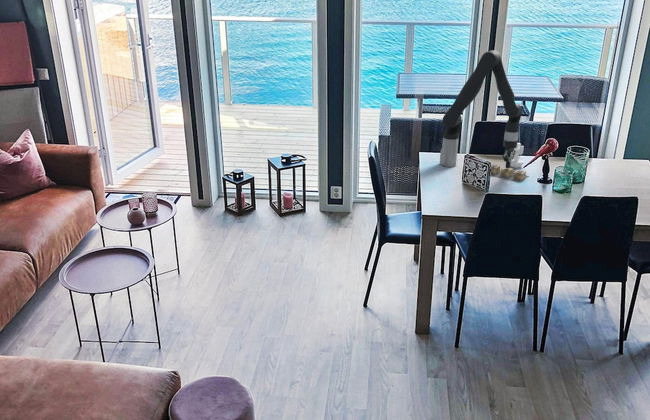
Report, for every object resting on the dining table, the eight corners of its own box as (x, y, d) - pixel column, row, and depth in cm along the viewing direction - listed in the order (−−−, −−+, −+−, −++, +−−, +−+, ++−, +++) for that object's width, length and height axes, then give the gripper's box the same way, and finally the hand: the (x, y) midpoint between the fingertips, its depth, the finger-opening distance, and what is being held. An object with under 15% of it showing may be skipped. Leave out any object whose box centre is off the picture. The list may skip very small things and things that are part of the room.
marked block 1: (487, 172, 363) (488, 165, 361) (491, 170, 367) (492, 163, 365) (495, 174, 360) (496, 167, 358) (499, 172, 364) (500, 165, 362)
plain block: (500, 175, 358) (501, 168, 357) (504, 173, 362) (504, 166, 360) (508, 177, 355) (509, 170, 354) (512, 175, 359) (513, 168, 357)
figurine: (515, 163, 379) (518, 140, 373) (524, 168, 371) (528, 144, 365) (505, 165, 377) (508, 141, 371) (514, 169, 369) (517, 145, 363)
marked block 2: (513, 178, 354) (514, 171, 352) (517, 176, 357) (517, 169, 355) (521, 180, 351) (522, 173, 349) (525, 178, 354) (526, 170, 352)
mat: (483, 174, 360) (483, 174, 360) (494, 168, 370) (494, 168, 370) (519, 183, 347) (519, 182, 347) (529, 176, 357) (529, 176, 357)
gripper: (509, 135, 357) (506, 163, 364) (499, 140, 348) (496, 169, 354) (522, 137, 352) (518, 166, 359) (512, 142, 343) (508, 171, 350)
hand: (507, 167), depth 357 cm, fingers closed
